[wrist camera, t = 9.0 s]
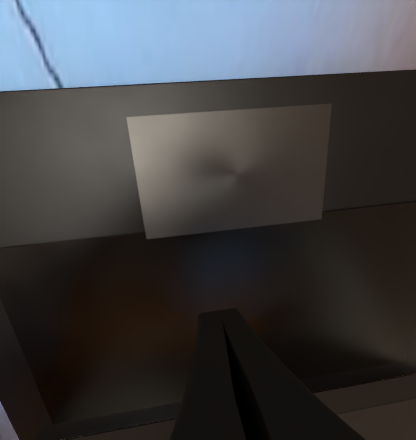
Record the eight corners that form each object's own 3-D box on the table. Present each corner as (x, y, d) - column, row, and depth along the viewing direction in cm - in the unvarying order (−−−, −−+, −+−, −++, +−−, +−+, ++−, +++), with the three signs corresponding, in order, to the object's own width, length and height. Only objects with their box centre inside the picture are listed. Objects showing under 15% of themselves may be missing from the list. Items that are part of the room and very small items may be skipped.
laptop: (-103, 104, 11) (-155, 99, 9) (481, 71, 14) (525, 63, 12) (36, 418, 18) (21, 448, 16) (408, 351, 21) (429, 371, 20)
